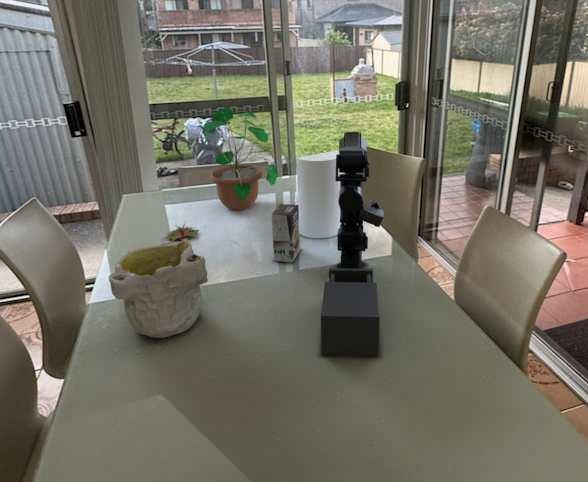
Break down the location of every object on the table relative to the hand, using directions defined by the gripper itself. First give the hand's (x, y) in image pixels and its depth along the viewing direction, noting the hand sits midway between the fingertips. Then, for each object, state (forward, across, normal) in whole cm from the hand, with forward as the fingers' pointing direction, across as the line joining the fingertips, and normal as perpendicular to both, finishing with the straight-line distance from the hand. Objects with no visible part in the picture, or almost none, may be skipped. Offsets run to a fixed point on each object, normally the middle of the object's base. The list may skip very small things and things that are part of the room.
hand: (350, 251), depth 119 cm
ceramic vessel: (+12, -15, +46) cm, 50 cm away
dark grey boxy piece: (+11, -9, 0) cm, 14 cm away
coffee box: (+12, +19, +21) cm, 31 cm away
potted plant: (+12, +62, +45) cm, 78 cm away
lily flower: (+12, +31, +60) cm, 69 cm away
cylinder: (+12, +40, +12) cm, 43 cm away
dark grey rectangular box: (+12, -20, 0) cm, 23 cm away
